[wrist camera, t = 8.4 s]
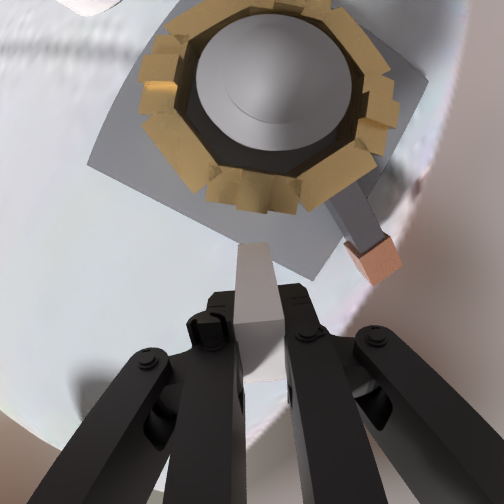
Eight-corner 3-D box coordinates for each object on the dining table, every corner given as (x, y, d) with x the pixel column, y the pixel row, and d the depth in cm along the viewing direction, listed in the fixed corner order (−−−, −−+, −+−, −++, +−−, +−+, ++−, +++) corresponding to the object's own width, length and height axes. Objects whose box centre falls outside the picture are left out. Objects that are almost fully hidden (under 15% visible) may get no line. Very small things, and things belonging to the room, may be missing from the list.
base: (217, -31, 12) (208, -87, 5) (421, 83, 16) (483, 69, 9) (94, 163, 18) (30, 176, 11) (309, 274, 22) (337, 333, 15)
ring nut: (125, 85, 15) (95, 71, 11) (288, -13, 12) (298, -45, 8) (295, 307, 21) (306, 343, 17) (432, 210, 19) (467, 226, 14)
